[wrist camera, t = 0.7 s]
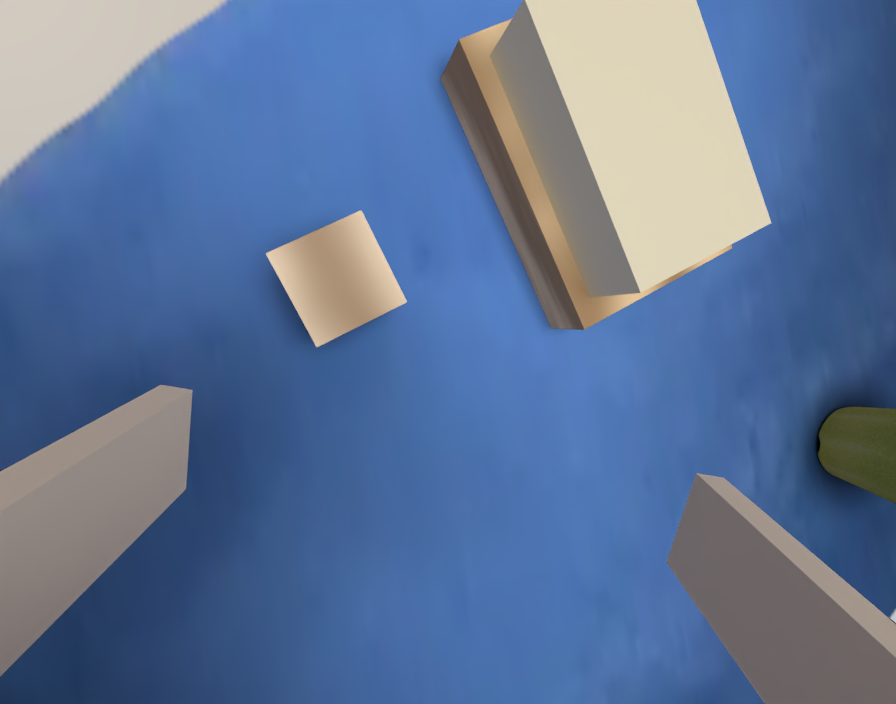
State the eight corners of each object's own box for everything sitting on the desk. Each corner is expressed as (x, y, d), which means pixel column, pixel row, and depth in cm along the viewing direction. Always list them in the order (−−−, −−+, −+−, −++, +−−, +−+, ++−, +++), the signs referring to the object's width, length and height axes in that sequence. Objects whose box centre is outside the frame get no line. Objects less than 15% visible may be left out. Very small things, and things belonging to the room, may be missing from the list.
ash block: (319, 341, 30) (316, 347, 24) (279, 268, 29) (265, 253, 23) (389, 306, 31) (407, 302, 24) (353, 234, 30) (361, 210, 24)
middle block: (589, 297, 30) (640, 292, 25) (489, 56, 27) (524, -2, 22) (702, 238, 31) (771, 222, 26) (618, 5, 29) (676, -58, 24)
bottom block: (548, 328, 35) (584, 329, 30) (438, 82, 32) (459, 39, 27) (678, 257, 37) (732, 248, 32) (588, 21, 34) (631, -28, 29)
